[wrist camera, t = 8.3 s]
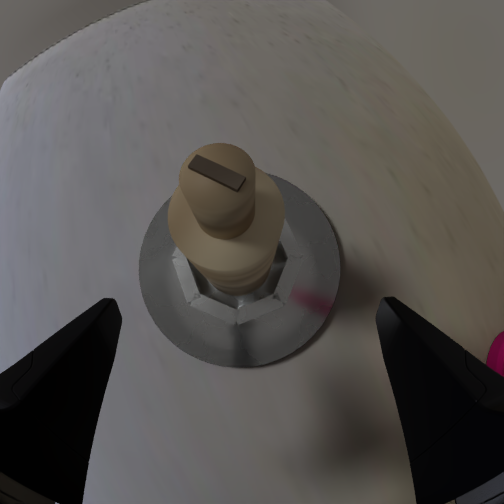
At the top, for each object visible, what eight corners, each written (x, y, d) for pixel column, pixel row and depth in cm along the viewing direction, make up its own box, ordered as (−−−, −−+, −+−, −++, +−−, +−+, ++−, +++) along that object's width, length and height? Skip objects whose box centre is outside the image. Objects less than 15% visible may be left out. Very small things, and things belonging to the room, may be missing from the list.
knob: (282, 249, 21) (319, 148, 9) (250, 308, 20) (245, 278, 8) (225, 219, 22) (197, 97, 9) (191, 274, 21) (113, 202, 8)
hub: (367, 315, 21) (378, 313, 19) (182, 393, 19) (176, 399, 17) (287, 152, 24) (289, 138, 22) (123, 215, 23) (113, 206, 21)
